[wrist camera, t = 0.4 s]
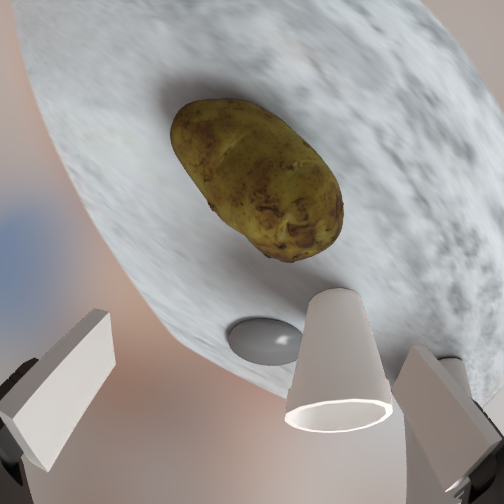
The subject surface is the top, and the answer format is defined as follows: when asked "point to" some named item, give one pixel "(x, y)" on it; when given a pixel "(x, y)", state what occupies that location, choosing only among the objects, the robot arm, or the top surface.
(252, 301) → the top surface
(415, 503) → the cylinder vase
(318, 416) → the foam cup
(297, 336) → the coaster
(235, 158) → the potato
